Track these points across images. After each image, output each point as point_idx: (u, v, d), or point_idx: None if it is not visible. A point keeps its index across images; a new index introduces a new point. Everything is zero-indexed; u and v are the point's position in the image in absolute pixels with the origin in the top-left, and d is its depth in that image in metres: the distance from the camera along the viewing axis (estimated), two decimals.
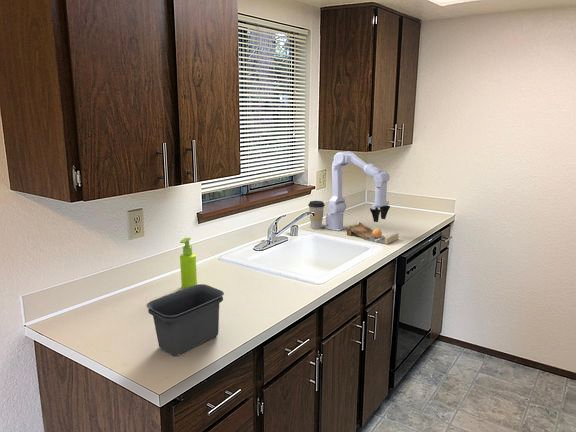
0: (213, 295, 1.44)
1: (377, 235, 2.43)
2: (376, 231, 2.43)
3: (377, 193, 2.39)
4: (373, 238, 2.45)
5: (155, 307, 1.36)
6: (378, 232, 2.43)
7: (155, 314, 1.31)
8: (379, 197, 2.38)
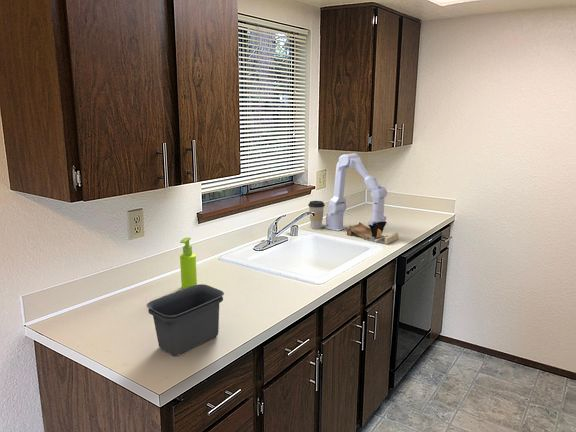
0: (213, 295, 1.44)
1: (377, 235, 2.43)
2: None
3: (374, 209, 2.40)
4: (373, 238, 2.45)
5: (155, 307, 1.36)
6: (378, 232, 2.43)
7: (155, 314, 1.31)
8: (376, 213, 2.40)
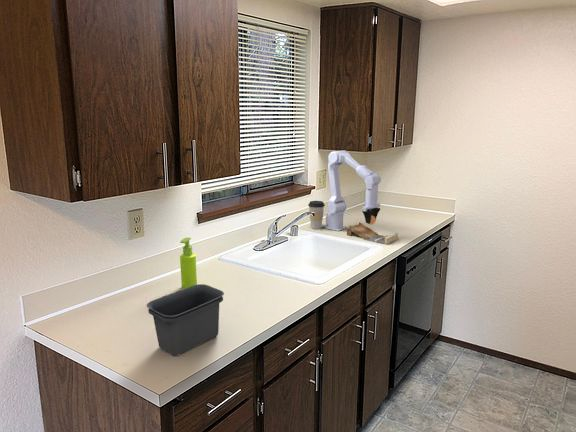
0: (213, 295, 1.44)
1: (371, 221, 2.44)
2: None
3: (368, 195, 2.41)
4: (373, 238, 2.45)
5: (155, 307, 1.36)
6: (372, 218, 2.44)
7: (155, 314, 1.31)
8: (370, 199, 2.41)
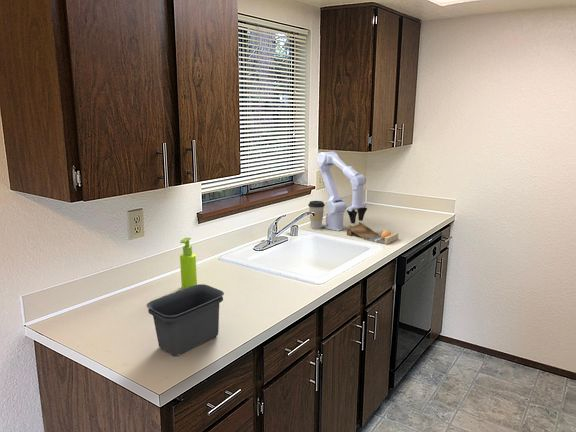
0: (213, 295, 1.44)
1: (382, 237, 2.41)
2: None
3: (353, 195, 2.47)
4: (373, 238, 2.45)
5: (155, 307, 1.36)
6: None
7: (155, 314, 1.31)
8: (356, 199, 2.47)
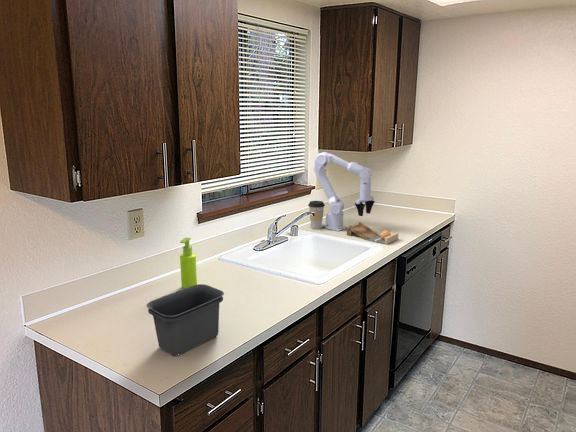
0: (213, 295, 1.44)
1: (382, 238, 2.41)
2: None
3: (364, 189, 2.52)
4: (373, 238, 2.45)
5: (155, 307, 1.36)
6: None
7: (155, 314, 1.31)
8: (363, 192, 2.52)
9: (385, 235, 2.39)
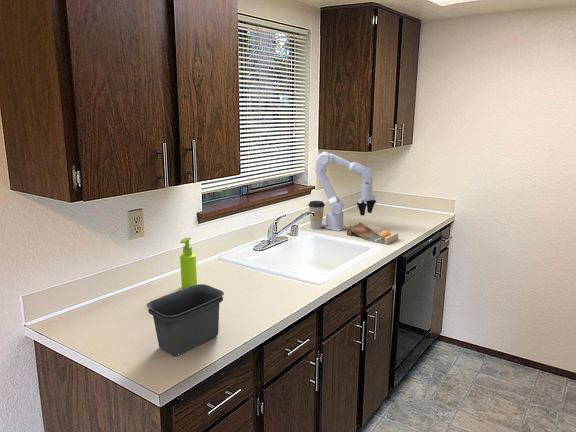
0: (213, 295, 1.44)
1: (382, 238, 2.41)
2: None
3: (366, 188, 2.53)
4: (373, 238, 2.45)
5: (155, 307, 1.36)
6: None
7: (155, 314, 1.31)
8: (365, 192, 2.54)
9: (385, 235, 2.40)
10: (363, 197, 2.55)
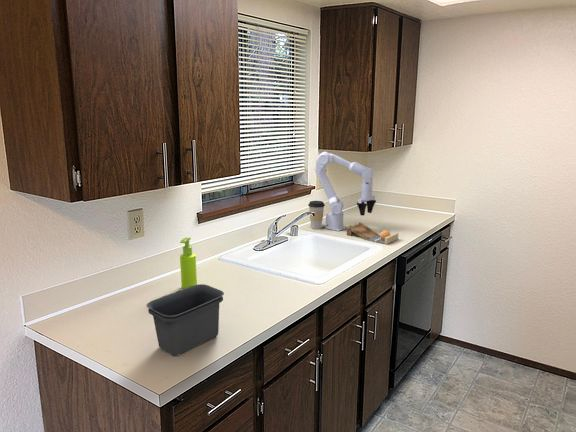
0: (213, 295, 1.44)
1: (382, 238, 2.41)
2: None
3: (366, 188, 2.53)
4: (373, 238, 2.45)
5: (155, 307, 1.36)
6: None
7: (155, 314, 1.31)
8: (365, 192, 2.54)
9: (384, 235, 2.40)
10: (363, 197, 2.55)
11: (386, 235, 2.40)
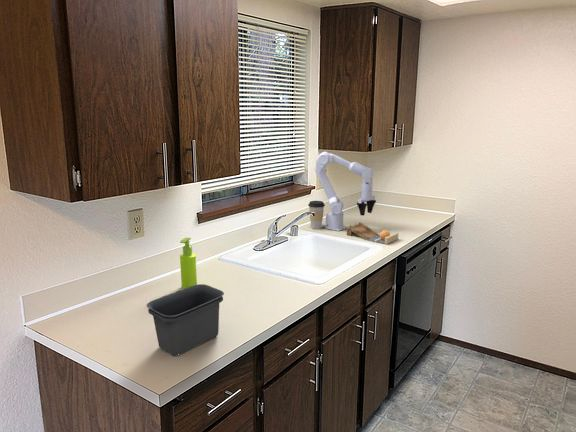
0: (213, 295, 1.44)
1: (382, 238, 2.41)
2: (385, 237, 2.40)
3: (366, 188, 2.53)
4: (373, 238, 2.45)
5: (155, 307, 1.36)
6: None
7: (155, 314, 1.31)
8: (365, 192, 2.54)
9: (384, 234, 2.40)
10: (363, 197, 2.55)
11: (386, 235, 2.40)
